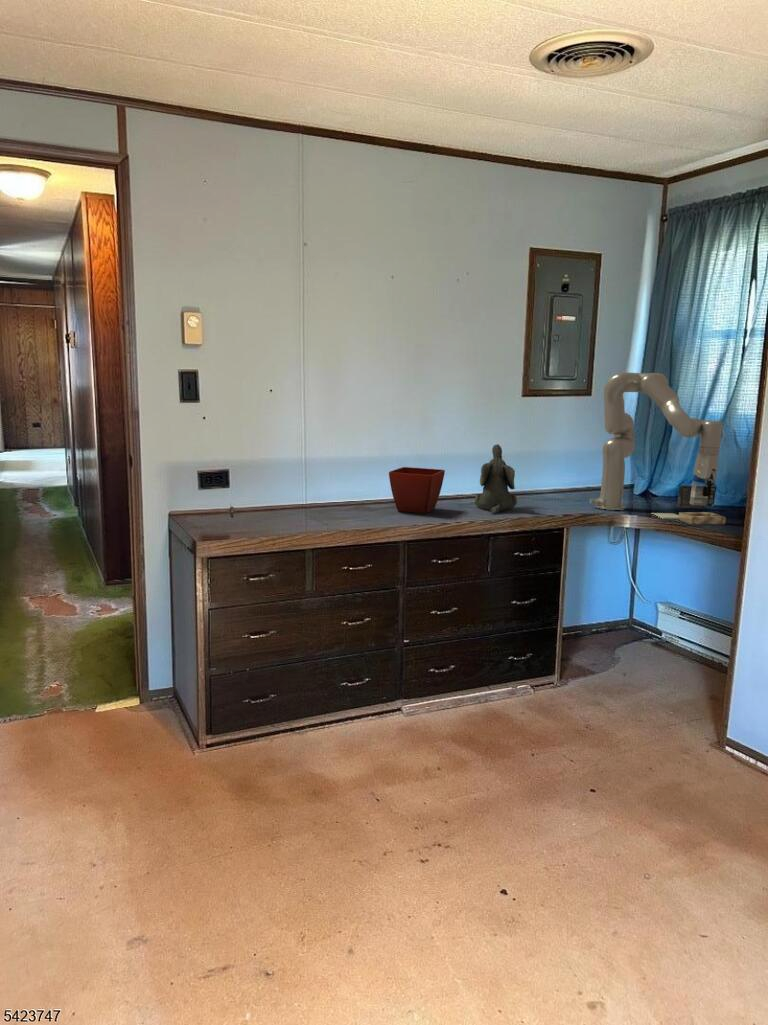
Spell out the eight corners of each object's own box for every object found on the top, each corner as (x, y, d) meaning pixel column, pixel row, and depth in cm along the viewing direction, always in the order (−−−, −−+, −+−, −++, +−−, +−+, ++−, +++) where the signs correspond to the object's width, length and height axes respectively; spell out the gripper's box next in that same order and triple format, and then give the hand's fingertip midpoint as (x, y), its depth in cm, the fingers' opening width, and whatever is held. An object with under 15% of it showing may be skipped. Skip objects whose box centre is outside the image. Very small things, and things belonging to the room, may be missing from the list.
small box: (700, 507, 350) (702, 485, 348) (704, 510, 343) (707, 487, 341) (676, 506, 351) (678, 484, 349) (680, 509, 344) (682, 486, 342)
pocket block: (691, 524, 310) (692, 517, 309) (678, 519, 319) (679, 512, 319) (725, 524, 312) (725, 517, 312) (711, 519, 322) (711, 512, 321)
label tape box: (692, 505, 313) (697, 476, 310) (688, 503, 317) (693, 474, 314) (713, 506, 313) (718, 477, 310) (709, 504, 317) (714, 475, 314)
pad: (662, 519, 319) (662, 517, 319) (650, 514, 329) (651, 513, 329) (684, 518, 321) (684, 517, 321) (672, 514, 331) (672, 513, 330)
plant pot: (386, 511, 316) (387, 471, 313) (402, 504, 334) (403, 466, 331) (430, 516, 310) (431, 475, 306) (443, 508, 327) (445, 469, 324)
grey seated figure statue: (493, 503, 345) (497, 443, 340) (526, 511, 328) (530, 448, 323) (461, 506, 334) (464, 444, 329) (493, 514, 317) (497, 450, 312)
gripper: (689, 448, 318) (683, 491, 322) (712, 453, 302) (706, 498, 305) (705, 448, 319) (699, 491, 323) (729, 454, 303) (723, 499, 307)
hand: (702, 494), depth 314 cm, fingers closed on label tape box, 4 cm apart
